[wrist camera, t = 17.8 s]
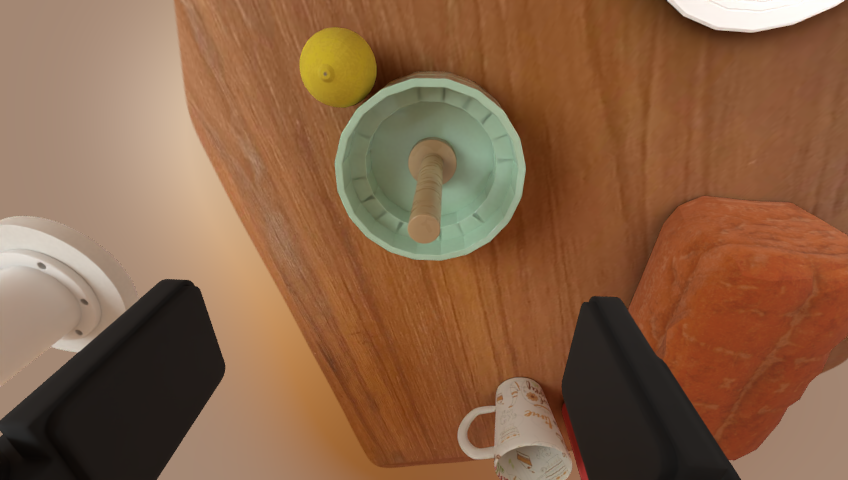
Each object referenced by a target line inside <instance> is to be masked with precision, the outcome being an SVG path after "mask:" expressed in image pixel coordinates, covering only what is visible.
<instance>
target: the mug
mask: <svg viewBox="0 0 848 480" xmlns="http://www.w3.org/2000/svg"><path fill="white" fill-rule="evenodd" d="M491 412H495V445H494V446H492V447H486V448H476V447H474V446H473V445H472V444H471V443H470V442H469V440H468V437H467V431H468V428H469V426H470V424H471V422H472V421H473V420H474V418H475V417H476V416H478V415H479V414H485V413H491ZM458 442H459V445H460V447H461V449H462V450H463V451H464V452H465V453H466V454H467V455H468V456H469V457H471V458H473V459H489V458H494V467H495V471H496V474H497V476H498V477H499V478H500V479H501V480H565V479H566V478H567V477H568V476H569V475H570V473H571V471H572V461H571V457H570V454H569V452H568V450H567V447H566V445H565V442H564V440H563V438H562V435H561V433H560V430H559V428H558V426H557V423H556V421H555V419H554V416H553V414H552V411H551V409H550V407H549V404H548V402H547V400H546V397H545V395H544V392H543V390H542V388H541V386H540V385H539V384H538V383H537V382H535V381H534V380H532V379H529V378H523V377H517V378H512V379H508V380H506V381H504V382H503V383H502V384H501V385H500V386H499V387H498V389H497V391H496V406H483V407H478V408H475V409H473V410H472V411H471V412H470V413H468V414H467V415H466V416H465V418H464V419H463V420H462V422H461V424H460V426H459V429H458Z"/></svg>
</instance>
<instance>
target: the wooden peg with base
mask: <svg viewBox="0 0 848 480" xmlns="http://www.w3.org/2000/svg"><path fill="white" fill-rule="evenodd" d="M456 166H457V158H456V153H455V151H454V149H453V147H452V146H451V145H450V144H449V143H448V142H447V141H445V140H443V139H441V138H438V137H427V138H424V139H422V140H420V141H418V142H417V143H416V144H415V145H414V146H413V148H412V150H411V152H410V155H409V159H408V167H409V171H410V173H411V175H412V176H413V178H414V179H415V180H416V181H417V185H416V190H415V194H414V199H413V204H412V208H411V213H410V218H409V223H408V233H409V235H410V237H411V238H412V239H413V240H414V241H416V242H418V243H422V244H426V243H431V242H433V241H434V240H436V239H437V237H438V236H439V234H440V227H441V205H442V185H443V184H445V183H446V182H448V181H449V180H450V179H451V178H452V177H453V175H454V173H455V171H456Z"/></svg>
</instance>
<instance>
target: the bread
mask: <svg viewBox="0 0 848 480" xmlns="http://www.w3.org/2000/svg"><path fill="white" fill-rule="evenodd" d="M628 311H629V313H630V314H631V316H632V318H633V319H634V321H635V322H636V324H637V325H638V327H639V329H640V330H641V332H642V333H643V335H644V337H645V338H646V340H647V341H648V343H649V344H650V346H651V348H652V349H653V351H654V352H655V354H656V355H657V356H658V357H659V358H661V359H662V360H663V361H664V362H665V363H666V364H667V366H668V367H669V369H670V370H671V372H672V374H673V375H674V377H675V378H676V380H677V381H678V383H679V384H680V386H681V387H682V389H683V391H684V392H685V394H686V395H687V397H688V398H689V400H690V401H691V403H692V404H693V406H694V408H695V409H696V411H697V412H698V414H699V415H700V417H701V418H702V420H703V421H704V423H705V425H706V426H707V428H708V429H709V431H710V432H711V434H712V435H713V437H714V438H715V440H716V442H717V443H718V445H719V446H720V448H721V449H722V451H723V452H724V454H725V455H726V457H727V459H728V460H736V459H738V458H740V457H742V456H744V455H746V454H748V453H750V452H752V451H754V450H756V449H757V448H758V447H759V446H760V445H761V444H762V443H763V441H764V440H765V439H766V438H767V437H768V435H769V434H770V433H771V432H772V431H773V430H774V428H775V427H776V426H777V425H778V424H779V422H780V420H781V419H782V417H783V415H784V413H785V412H786V410H787V408H788V407H789V406H790V405H792V404H793V403H795V402H796V401H798V400H799V399H800V398H801V396H802V394H803V393H804V391H805V389H806V388H807V386H808V384H809V383H810V382H811V381H812V380H813V379H814V378H815V377H816V376H817V375H819V374H820V373H821V372H822V370H823V368H824V366H825V363H826V361H827V359H828V357H829V354H830V352H831V350H832V349H833V348H834V347H835V346H836V345H837V344H839V343H840V342H841V341H842V340H843V339H845V337H846V336H847V335H848V235H846V234H844V233H842V232H841V231H839V230H837V229H836V228H834V227H832V226H831V225H829V224H827V223H826V222H824V221H822V220H820V219H819V218H817V217H815V216H814V215H812V214H810V213H808V212H807V211H805V210H803V209H801V208H800V207H798V206H796V205H794V204H793V203H790V202H767V201H748V200H739V199H730V198H720V197H711V196H701V197H699V198H696V199H694V200H691V201H689V202H687V203H684V204H682V205H679V206H678V207H677V208H676V209H675V210H674V212H673V213H672V214H671V215H670V216H669V218H668V219H667V220H666V221H665V222H664V224H663V226H662V228H661V231H660V233H659V236H658V238H657V241H656V243H655V245H654V248H653V250H652V253H651V255H650V258H649V260H648V263H647V265H646V267H645V270H644V272H643V275H642V277H641V279H640V282H639V284H638V287H637V289H636V291H635V294H634V296H633V299H632V301H631V303H630V306H629V308H628Z"/></svg>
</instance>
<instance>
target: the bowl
mask: <svg viewBox="0 0 848 480" xmlns="http://www.w3.org/2000/svg"><path fill="white" fill-rule="evenodd" d="M427 137H438V138H441V139H443V140H445V141H447V142H448V143H449V144H450V145H451V146H452V147H453V149H454V151H455V153H456V158H457V166H456V171H455V173H454V175H453V177H452V178H451V179H450V180H449V181H448V182H446V183H445V184H443V185H442V205H441V227H440V234H439V236H438V237H437V239H436V240H434V241H433V242H431V243H426V244H422V243H418V242H416V241H414V240H413V239H412V238H411V237H410V235H409V233H408V223H409V218H410V213H411V208H412V204H413V199H414V194H415V190H416V185H417V181H416V180H415V179H414V178H413V176H412V175H411V173H410V171H409V167H408V159H409V155H410V152H411V150H412V148H413V146H414V145H415V144H416V143H417V142H418V141H420V140H422V139H424V138H427ZM335 172H336V181H337V190H338V193H339V196H340V198H341V200H342V202H343V205H344V207H345V209H346V211H347V213H348V216H349V217H350V218H351V220H352V221H353V222H354V223H355V224H356V225H357V227H358V228H359V229H360V230H361V231H362V232H363V233H364V235H365V236H366V237H367V238H369V239H370V240H372V241H374V242H375V243H377V244H378V245H380V246H381V247H383V248H384V249H386V250H387V251H389V252H392V253H395V254H398V255H401V256H405V257H408V258H411V259H415V260H446V259H450V258H454V257H458V256H463V255H467V254H469V253H471V252H472V251H474V250H476V249H478V248H479V247H481V246H483V245H485V244H487V243H488V242H490V241H491V240H492V239H493V238H494V237H495V236H496V235H497V234H498V233H499V232H500V231H501V230H502V229H503V228H504V227H505V226H506V225H507V224H508V223H509V221H510V220H511V218H512V216H513V214H514V212H515V210H516V208H517V206H518V204H519V202H520V200H521V198H522V193H523V186H524V179H525V172H526V165H525V160H524V155H523V150H522V145H521V140H520V137H519V135H518V134H517V132H516V130H515V129H514V127H513V125H512V124H511V122H510V120H509V119H508V117H507V115H506V114H505V112H504V110H503V109H502V107H501V106H500V104H499V103H498V101H497V100H496V99H495V98H494V97H492V96H491V95H490V94H489V93H488V92H486V91H485V90H484V89H483V88H482V87H480V86H479V85H478V84H477V83H476V82H474V81H471V80H469V79H466V78H463V77H460V76H458V75H455V74H452V73H450V72H426V71H419V72H415V73H412V74H409V75H407V76H404V77H401V78H398V79H395V80H392V81H390V82H389V83H388V84H387V85H385V86H384V87H383V88H381V89H380V90H379V91H378V92H376V93H375V94H374V95H373V96H371V97H370V98H369V99H368V100H367V101H365V102H364V103H363V104H362V105H361V106H360V107H358V109H357V110H356V111H355V113H354V114H353V116H352V118H351V119H350V121H349V122H348V124H347V126H346V127H345V129H344V130H343V132H342V134H341V137H340V141H339V146H338V150H337V155H336V159H335Z"/></svg>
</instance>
